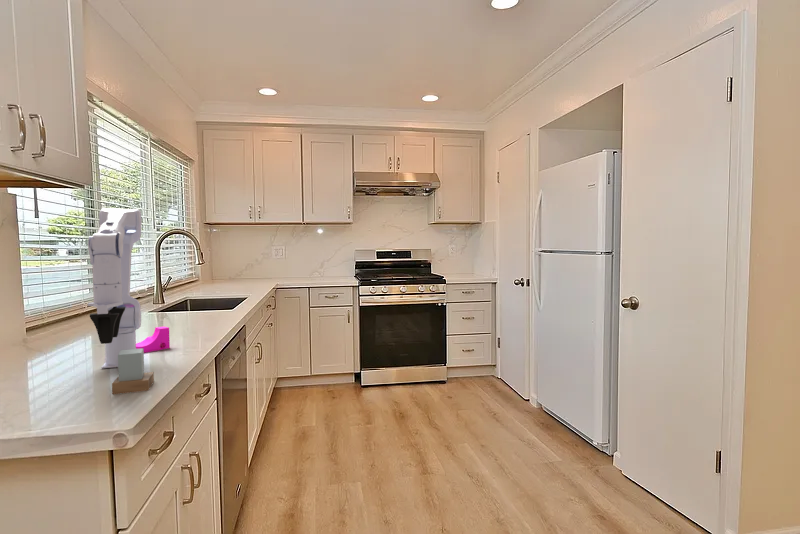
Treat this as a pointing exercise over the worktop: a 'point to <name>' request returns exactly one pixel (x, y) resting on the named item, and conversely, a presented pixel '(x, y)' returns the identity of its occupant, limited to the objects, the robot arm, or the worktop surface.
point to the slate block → (131, 364)
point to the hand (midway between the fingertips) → (109, 340)
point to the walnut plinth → (133, 384)
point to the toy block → (156, 340)
